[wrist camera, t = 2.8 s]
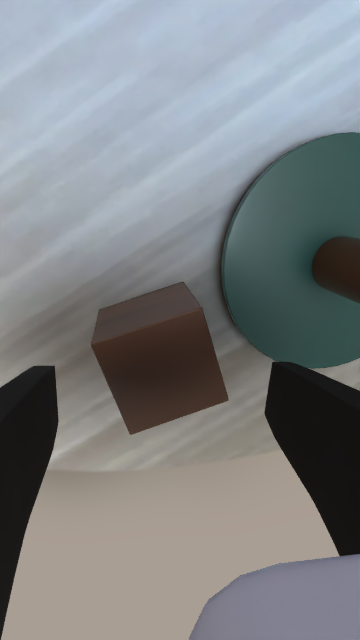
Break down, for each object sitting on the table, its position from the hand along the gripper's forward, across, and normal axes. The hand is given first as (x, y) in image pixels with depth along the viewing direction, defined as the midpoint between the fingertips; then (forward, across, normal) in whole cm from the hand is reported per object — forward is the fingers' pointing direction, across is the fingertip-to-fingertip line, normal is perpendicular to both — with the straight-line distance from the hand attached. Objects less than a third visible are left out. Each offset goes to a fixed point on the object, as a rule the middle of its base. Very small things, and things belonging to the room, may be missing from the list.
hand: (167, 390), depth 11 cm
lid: (+4, -8, -4) cm, 10 cm away
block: (+5, 0, 0) cm, 5 cm away
